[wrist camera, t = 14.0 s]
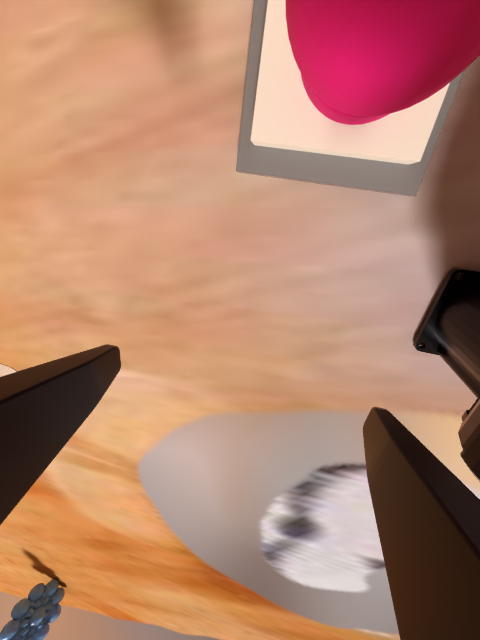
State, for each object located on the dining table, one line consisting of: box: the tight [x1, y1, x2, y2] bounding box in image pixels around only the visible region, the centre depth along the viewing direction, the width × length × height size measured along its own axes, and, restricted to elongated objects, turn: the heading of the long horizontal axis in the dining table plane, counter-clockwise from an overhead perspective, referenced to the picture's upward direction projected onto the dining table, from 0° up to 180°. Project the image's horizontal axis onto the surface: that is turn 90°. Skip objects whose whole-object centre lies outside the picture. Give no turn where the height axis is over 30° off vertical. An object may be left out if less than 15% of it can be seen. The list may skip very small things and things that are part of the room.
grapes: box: [0, 580, 65, 640], centre depth 57 cm, size 12×7×12 cm, turn 19°
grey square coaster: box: [236, 0, 465, 196], centre depth 13 cm, size 12×11×3 cm
